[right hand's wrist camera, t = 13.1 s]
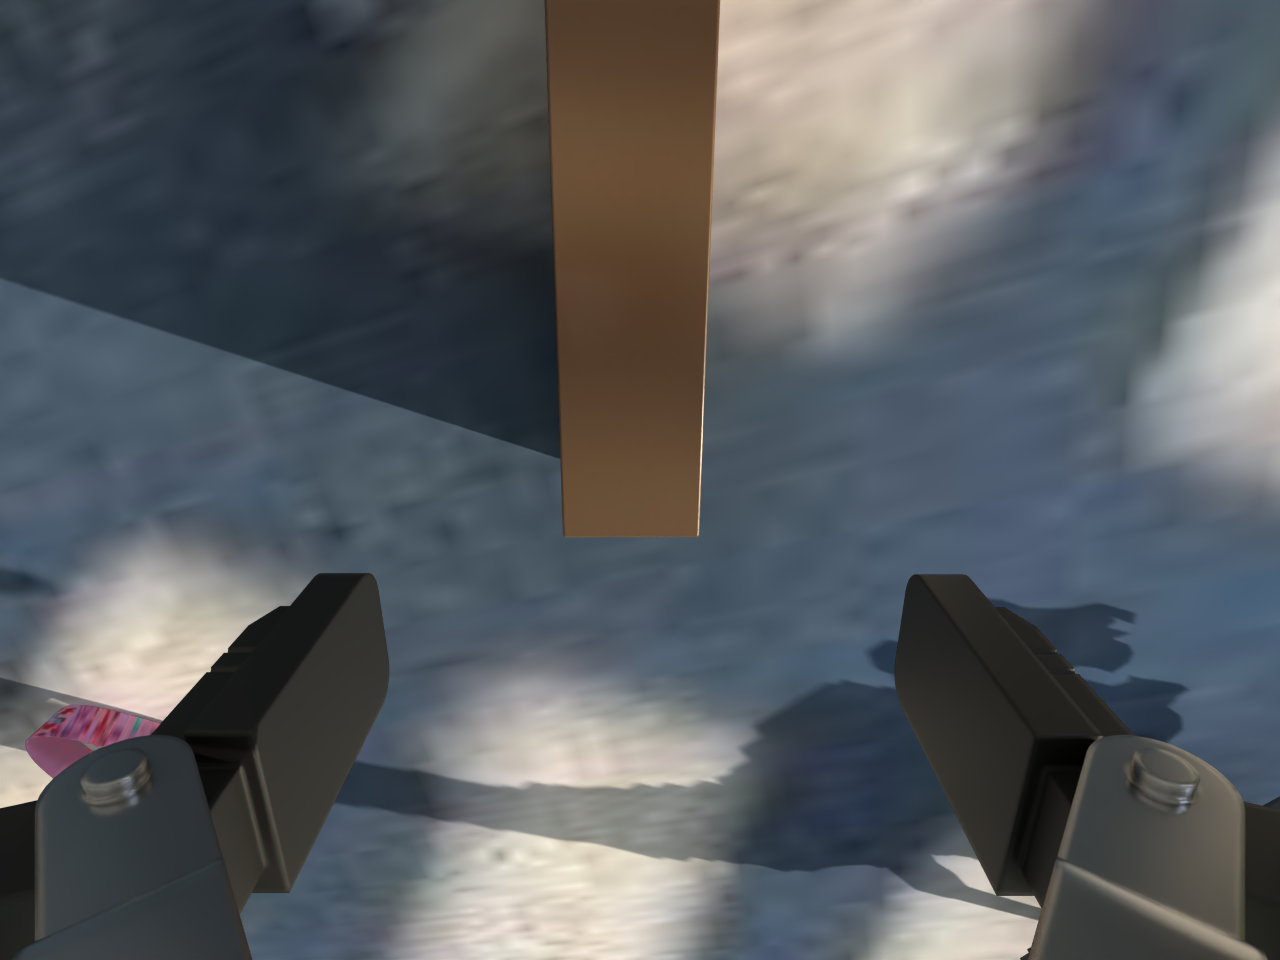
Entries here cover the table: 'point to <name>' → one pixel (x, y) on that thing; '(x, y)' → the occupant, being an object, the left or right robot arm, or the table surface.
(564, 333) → the post
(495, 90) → the table surface
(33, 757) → the headband
